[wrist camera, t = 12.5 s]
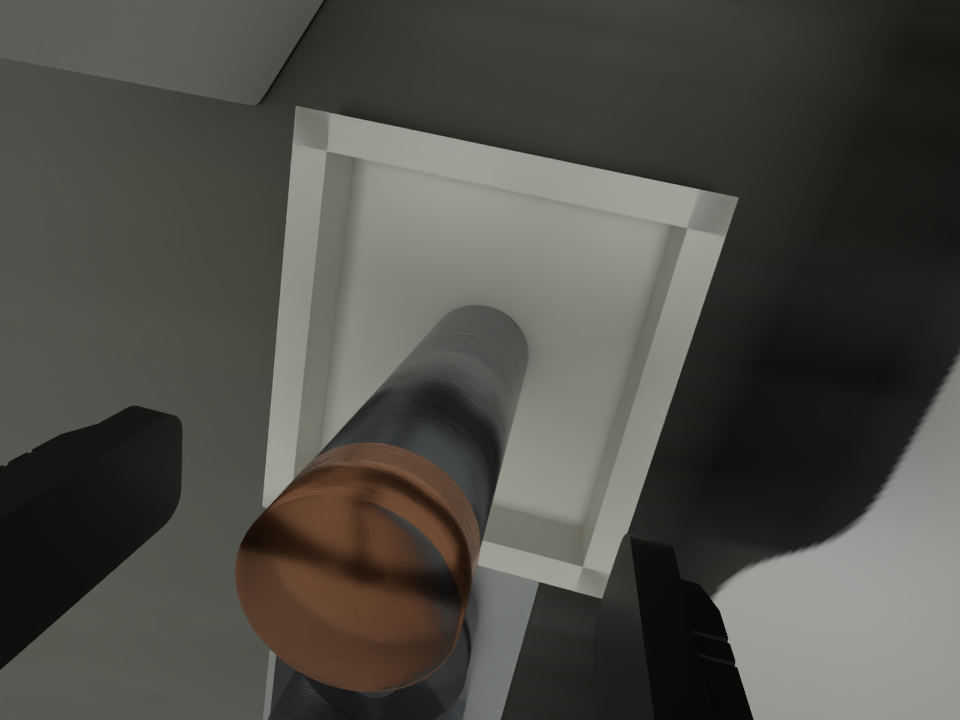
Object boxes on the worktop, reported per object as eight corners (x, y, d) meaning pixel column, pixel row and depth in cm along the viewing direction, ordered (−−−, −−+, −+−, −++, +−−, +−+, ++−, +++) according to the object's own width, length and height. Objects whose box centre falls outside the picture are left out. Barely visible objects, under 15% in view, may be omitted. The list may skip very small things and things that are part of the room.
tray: (337, 114, 19) (295, 105, 16) (713, 192, 18) (738, 197, 15) (300, 465, 23) (262, 507, 20) (601, 545, 22) (605, 599, 19)
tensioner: (298, 487, 24) (210, 587, 18) (543, 552, 23) (532, 679, 17) (271, 737, 28) (195, 879, 23) (474, 799, 27) (447, 963, 22)
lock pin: (437, 293, 19) (242, 465, 8) (539, 317, 19) (484, 530, 8) (420, 389, 21) (229, 655, 9) (517, 412, 20) (439, 718, 9)
